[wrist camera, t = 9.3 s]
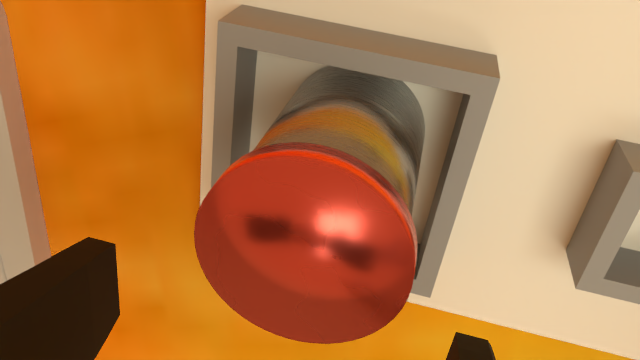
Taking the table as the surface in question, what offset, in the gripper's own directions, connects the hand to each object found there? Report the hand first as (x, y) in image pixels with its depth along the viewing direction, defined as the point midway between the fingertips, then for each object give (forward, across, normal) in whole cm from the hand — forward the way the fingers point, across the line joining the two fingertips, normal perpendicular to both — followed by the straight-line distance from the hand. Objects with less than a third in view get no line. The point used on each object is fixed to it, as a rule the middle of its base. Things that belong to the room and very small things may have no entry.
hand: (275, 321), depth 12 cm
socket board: (+9, -5, 0) cm, 11 cm away
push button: (+8, 0, -1) cm, 8 cm away
